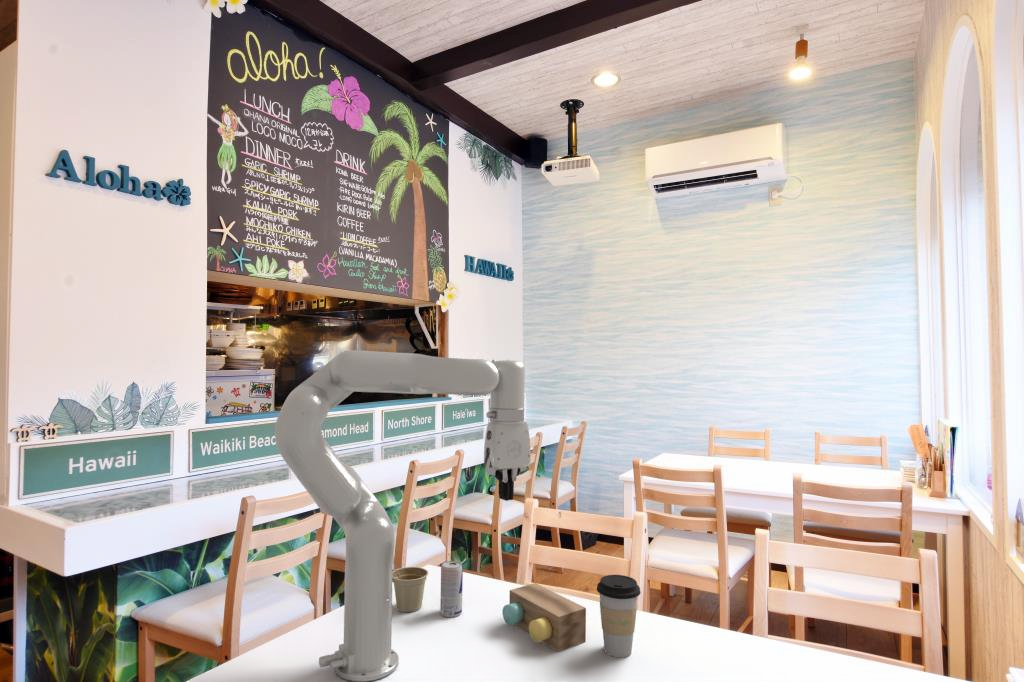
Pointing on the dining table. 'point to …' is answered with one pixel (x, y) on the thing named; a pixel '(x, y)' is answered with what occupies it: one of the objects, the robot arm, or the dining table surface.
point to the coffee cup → (618, 613)
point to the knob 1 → (513, 613)
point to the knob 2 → (540, 629)
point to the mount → (552, 615)
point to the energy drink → (451, 589)
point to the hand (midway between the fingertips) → (506, 498)
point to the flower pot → (409, 587)
